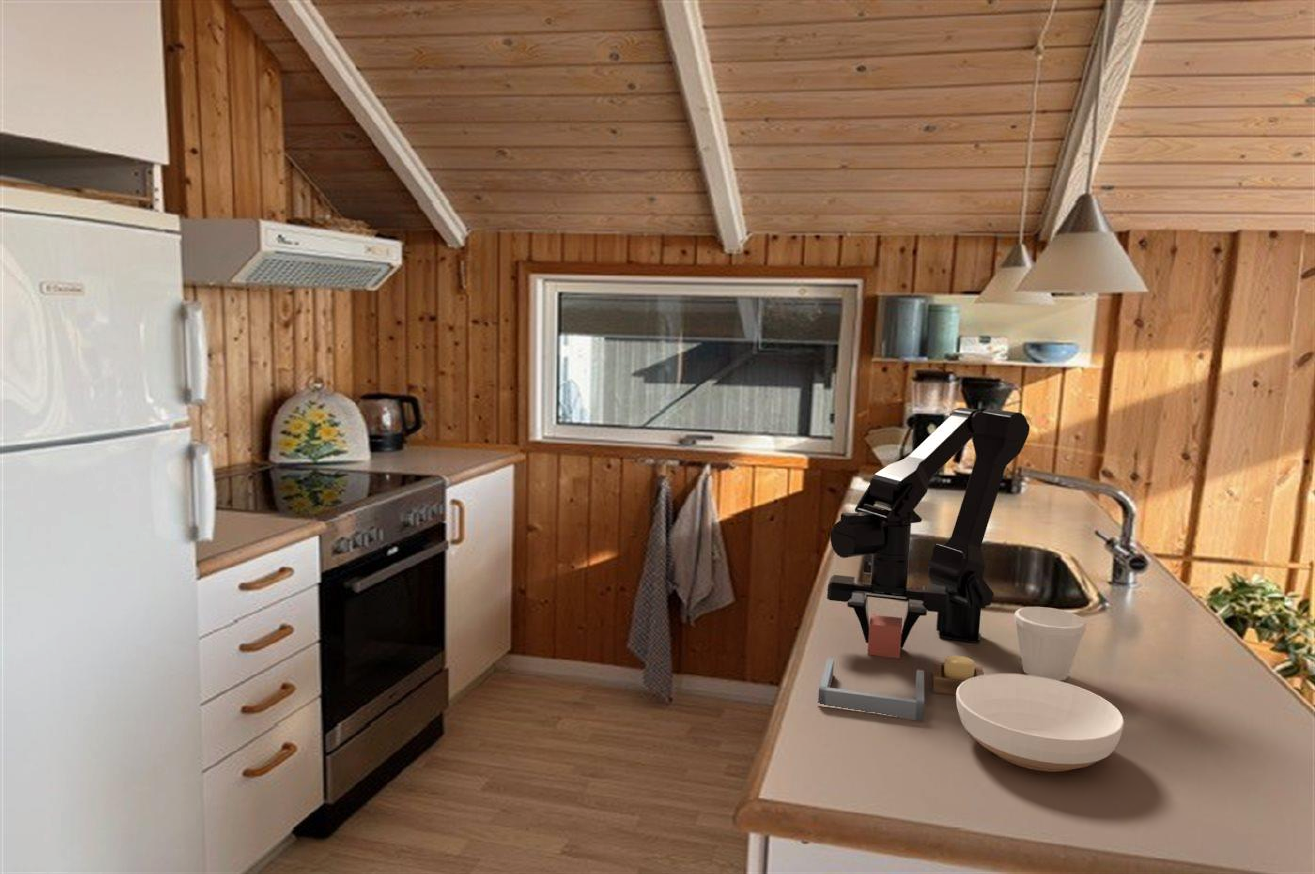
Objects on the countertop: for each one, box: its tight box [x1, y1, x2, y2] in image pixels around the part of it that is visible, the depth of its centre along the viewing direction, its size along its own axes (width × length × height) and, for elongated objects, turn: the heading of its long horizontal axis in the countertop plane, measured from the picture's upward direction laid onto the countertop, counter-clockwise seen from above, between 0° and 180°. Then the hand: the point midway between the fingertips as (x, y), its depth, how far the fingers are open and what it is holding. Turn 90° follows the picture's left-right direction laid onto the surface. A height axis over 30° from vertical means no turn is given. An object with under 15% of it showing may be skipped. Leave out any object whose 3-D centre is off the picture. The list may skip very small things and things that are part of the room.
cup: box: [1014, 606, 1087, 682], centre depth 140 cm, size 10×10×9 cm
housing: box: [932, 661, 985, 696], centre depth 136 cm, size 7×7×2 cm
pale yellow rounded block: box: [944, 655, 976, 680], centre depth 135 cm, size 4×4×3 cm
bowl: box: [955, 672, 1125, 773], centre depth 116 cm, size 20×20×6 cm
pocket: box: [817, 657, 925, 722], centre depth 131 cm, size 14×12×2 cm
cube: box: [867, 613, 903, 659], centre depth 149 cm, size 5×5×5 cm
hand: (884, 644), depth 149 cm, fingers closed on cube, 5 cm apart
